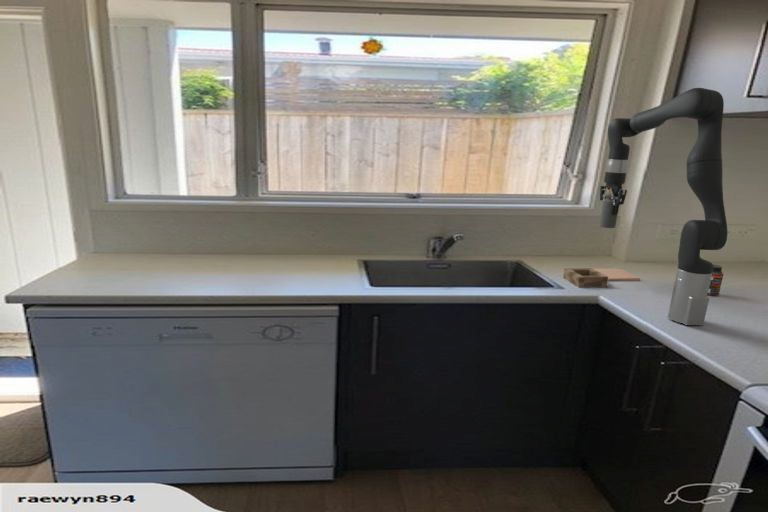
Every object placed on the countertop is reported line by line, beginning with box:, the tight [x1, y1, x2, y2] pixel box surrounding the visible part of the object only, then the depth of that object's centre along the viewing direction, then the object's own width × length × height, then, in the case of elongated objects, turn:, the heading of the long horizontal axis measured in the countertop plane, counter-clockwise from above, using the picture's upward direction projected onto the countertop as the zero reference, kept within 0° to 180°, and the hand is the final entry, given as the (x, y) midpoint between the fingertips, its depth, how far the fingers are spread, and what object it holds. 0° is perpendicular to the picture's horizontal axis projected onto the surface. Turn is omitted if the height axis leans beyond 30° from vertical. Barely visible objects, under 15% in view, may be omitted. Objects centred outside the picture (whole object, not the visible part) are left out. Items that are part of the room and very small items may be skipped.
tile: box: [593, 268, 641, 282], centre depth 196 cm, size 14×14×1 cm
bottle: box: [599, 190, 618, 229], centre depth 184 cm, size 6×6×15 cm
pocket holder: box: [563, 267, 609, 288], centre depth 186 cm, size 12×12×4 cm
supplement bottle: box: [707, 264, 724, 297], centre depth 174 cm, size 6×6×11 cm
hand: (609, 213), depth 184 cm, fingers closed on bottle, 5 cm apart
